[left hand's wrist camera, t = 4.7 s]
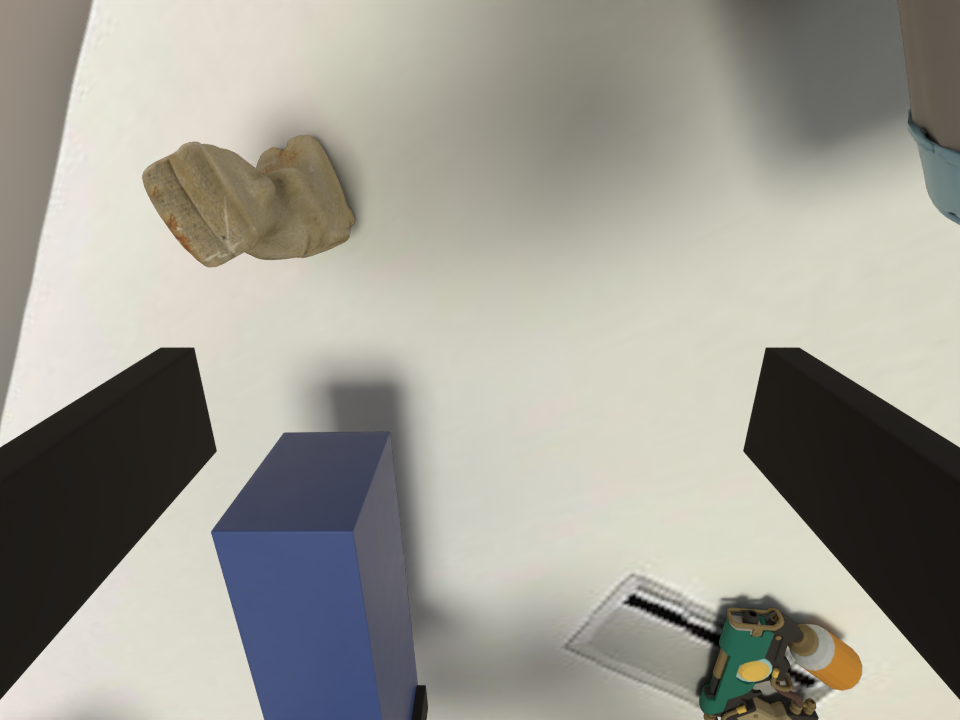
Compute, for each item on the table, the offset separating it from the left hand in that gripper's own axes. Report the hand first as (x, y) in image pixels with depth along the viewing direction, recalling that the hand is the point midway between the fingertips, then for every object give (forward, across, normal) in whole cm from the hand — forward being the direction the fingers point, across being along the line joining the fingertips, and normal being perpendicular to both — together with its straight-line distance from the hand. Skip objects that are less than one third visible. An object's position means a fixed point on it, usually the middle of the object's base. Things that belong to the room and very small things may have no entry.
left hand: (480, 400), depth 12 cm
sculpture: (+28, -11, +3) cm, 30 cm away
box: (+19, -9, -26) cm, 33 cm away
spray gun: (+27, +28, -43) cm, 58 cm away
